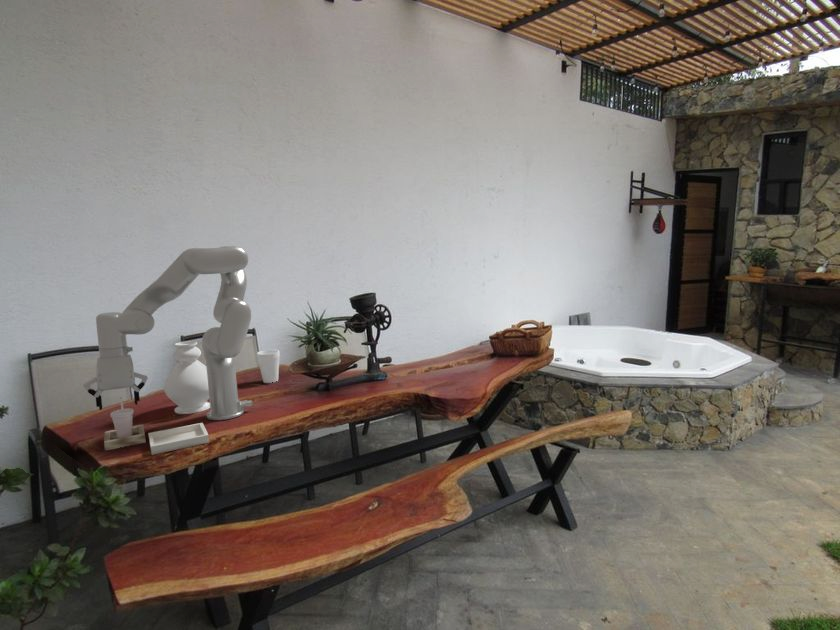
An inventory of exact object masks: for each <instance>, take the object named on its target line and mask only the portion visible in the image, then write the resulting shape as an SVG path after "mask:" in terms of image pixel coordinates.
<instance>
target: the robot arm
mask: <svg viewBox="0 0 840 630" xmlns="http://www.w3.org/2000/svg"><path fill="white" fill-rule="evenodd" d="M248 263H249V256H248V254H247V251H246V250H244V249H243V248H241V247H240V246H233V245H232V246H229V245H228V246H220V247H209V248H208V247H202V248H198V247H197V248H196V247H195V248H188V249H185V250H183V251H182V252H181V253H180V254H179V256H177V258H176V259H175V260H174V261H173V262H172V263H171V264H170V265H169V266H168V267H167V268H166V270H165V271H164V272H163V273H162V274H161V275H160V276H159V277H158V278H157V279H156V280H154V281H153V282H152V283H151V284H150V285H149V286H147V288H145V289H144V290H142V291H141V292H140V293H139V294H138V295H137V296H136V297H135V298H134V299H133V300H132V301H131V302H130V303H129V304H128V305H127V306H126V307H125V309H124V310H123V311H122V312H118V311H116V312H115V311H111V312H102V313H99V314H97V316H96V318H95V324H96V333H97V342H98V343H97V344H98V353H99V357H97V359H96V369H95V370H96V376H95V377H94V378H91V379H90V380H88V381H86V382H84V383H83V387H84V389H85V390H86V391H87V393H89V394H90V395H91V396H93V397H94V398H95V404H96V408H99V411H101V410H103V402H102V393H103V392H104V391H105V392H106V391H112V390H120V389H127V388H130V389H132V390H133V398H134V405H138V402H140V399H141V398H140V391H141V390H142V389H143V388H144V386H145V385H146V382H147V381H148V377H149V376H148V375H145V374H142V373H139V372H137V371H136V372H135V370H134V363H133V360H132V359H133V358H132V355H131V354H129V353H130V352H133V351H134V350H133V346H131V347H130V346H128V344H127V335H145V334H147V333H150V332H151V331H152V330H153V329H154V326H155V319H154V316H153V314H155V312H156V311H158V309H159V308H161V307H162V306H163V305H165V304H167V303H169V302H172V301H175V300H176V299H178V298H179V297H180V296H181V295H182V294H183V293H184V292H185V291H186V290H187V289H188V288H189V286H191V284H193V282H194V280H195V279H197V278H198V276H199V275H218V274H220V278H221V279H220V280H221V281H220V287H219V291H218V294H217V297H216V301H215V304H214V306H213V317H214V319H215V321H216V322H218V323H220V326H219V327H218V326H217V327H215V326H214V327H211V328H209V329H208V330H206V331H205V332H204V334H203V335H202V339H201V348H202V351H203V356H204V361H205V366H206V369H207V379H208V389H209V399H208V400H209V403H210V408H209V409H210V410H208V412H207V413H206V419H208V420H210V421H223V420H224V421H225V420H230V419H235V418H237V417H240V416H242V415H243V414H244V413H245V412H244V410H245V409H244V408H245V407H250V406H251V407H252V406H253V401H252V400H247V399H245V400H240V399H239V394H238V384H237V383H238V382H237V372H236V370H237V369H236V363H235V357H237V356H239V354H240V353H241V352H242V350H243V348H244V345H245V343H246V338H247V334H248V332H249V327H250V324H251V320H252V310H251V308H250V305H248V303H247V302H246V301H244V300H245V299H244V298H245V294H246V292H247V291H246V290H247V286H248V285H247V283H248V280H247V275H246V271H245V268H246V267H247V265H248ZM136 378H138V379H140V380H141V381H140V382H139V384H138V385H137V384H136ZM95 383H96V384H97V389H94V388H92V386H91V385H94V384H95Z"/></svg>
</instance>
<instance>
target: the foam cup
mask: <svg viewBox="0 0 840 630" xmlns="http://www.w3.org/2000/svg"><path fill="white" fill-rule="evenodd" d="M256 357H257V361H258V364H259V365H258V366H259V368H260V369H259V370H260V373H261V378H262V382H263V383H264V384H273V383H276V381H277V382H278V381H279V370H280V357H281V354H280V350H278V349H266V350H261V351H257V353H256ZM272 382H273V383H272Z"/></svg>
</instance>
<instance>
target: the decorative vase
mask: <svg viewBox="0 0 840 630" xmlns="http://www.w3.org/2000/svg"><path fill="white" fill-rule="evenodd" d="M196 345H198V341H195V340H186V341H185V340H184V341H179V342H176V343H174V347H176V350H174V351H173V354H172V357H173V359H175V361H177V363H176V364H175V366H174V367H173V368H172V369H170V372H169V373H168V375H167V376H166V378H165V380H164V383H163V390H164V394H165V395H166V397H167V398H168V399H170V401H172V402H173V403H174V404H175V405H177V406H176V407H175V408H174V413H175V414H179V415H189V414H196V413H197V414H198V413H201V412H205V411H206V410H209V409H210V401H209V402H208V400H210V399H209V389H208V379H207V369H206V364H204V363H203V362H201V361H199V360H198V359H199V357H201V355H202V351H201V349H200V348H199V347H197V346H196Z"/></svg>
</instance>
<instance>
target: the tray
mask: <svg viewBox="0 0 840 630" xmlns="http://www.w3.org/2000/svg"><path fill="white" fill-rule="evenodd" d="M147 434H148V441H149V447H150V453H151V455H152V456H153V455H157V454H158V455H159V454H162V453H166V452H170V451H175V450H180V449H186V448H190V447H194V446H199V445H200V446H201V445H203V444H209V443H210V437H209V433H208V430H207V429H206V427H205V424H204V423H203V422H199V423H194V424H193V423H192V424H190V425H184V426H178V427H173V428H168V429H161V430H158V431H157V430H156V431H153V432H148V433H147Z"/></svg>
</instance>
